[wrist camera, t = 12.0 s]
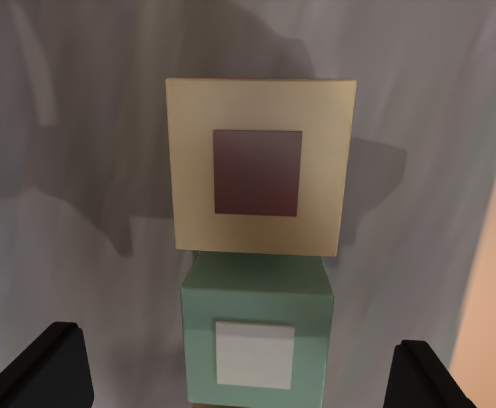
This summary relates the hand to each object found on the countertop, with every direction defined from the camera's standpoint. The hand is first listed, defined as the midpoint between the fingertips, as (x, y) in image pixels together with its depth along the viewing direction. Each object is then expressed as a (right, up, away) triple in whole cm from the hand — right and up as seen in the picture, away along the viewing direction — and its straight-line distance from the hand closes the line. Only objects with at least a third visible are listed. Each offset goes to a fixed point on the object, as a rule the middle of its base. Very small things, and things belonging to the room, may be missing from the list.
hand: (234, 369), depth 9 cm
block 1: (+1, +7, +3) cm, 8 cm away
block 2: (+1, +2, +5) cm, 5 cm away
